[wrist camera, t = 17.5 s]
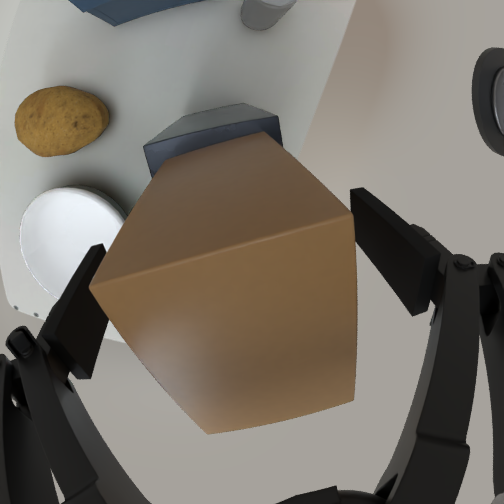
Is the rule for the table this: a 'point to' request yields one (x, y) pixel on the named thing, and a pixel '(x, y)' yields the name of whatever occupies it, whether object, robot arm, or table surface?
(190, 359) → the package
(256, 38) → the table surface
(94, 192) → the bowl
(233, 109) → the stand
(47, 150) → the potato
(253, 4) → the beverage can
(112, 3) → the chest
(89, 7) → the lid
